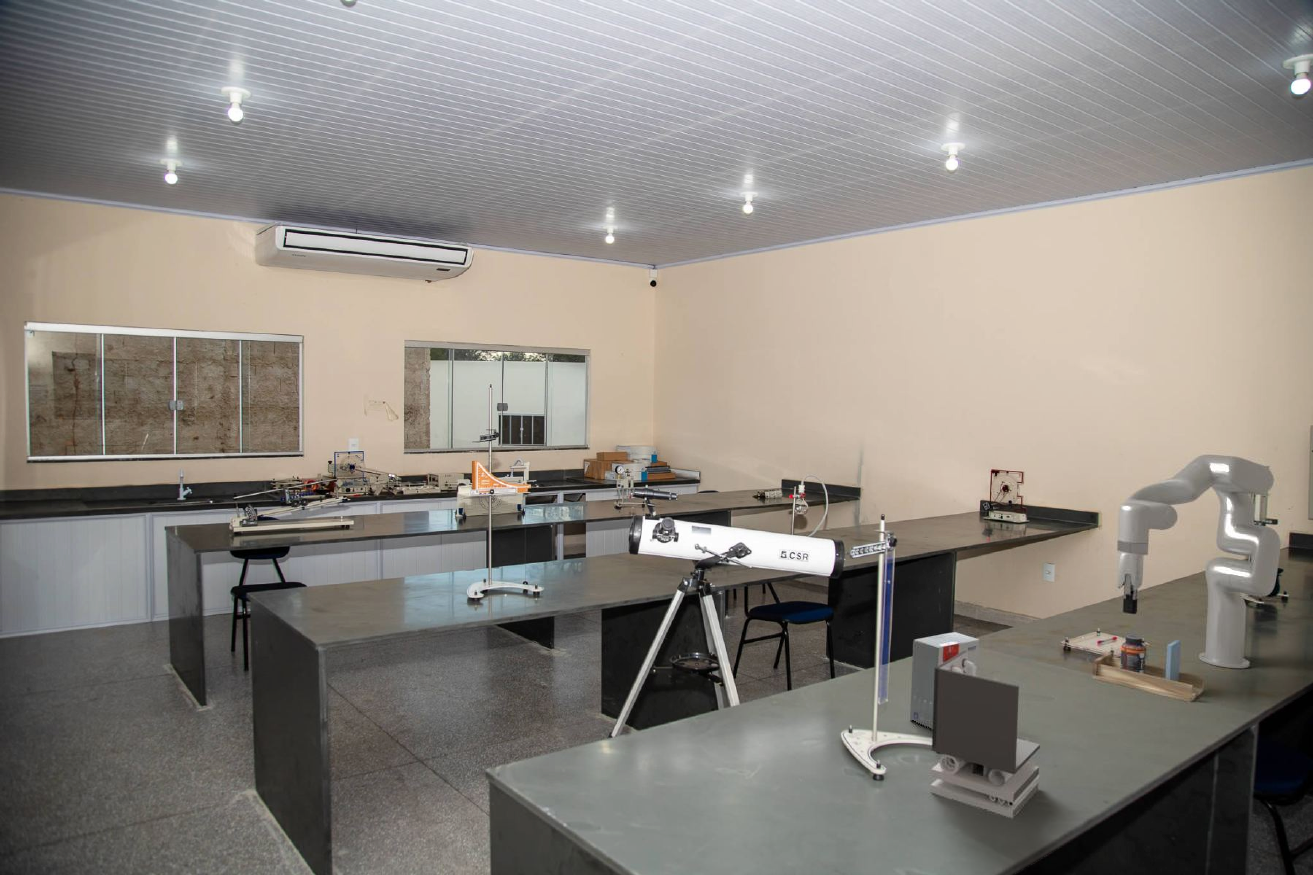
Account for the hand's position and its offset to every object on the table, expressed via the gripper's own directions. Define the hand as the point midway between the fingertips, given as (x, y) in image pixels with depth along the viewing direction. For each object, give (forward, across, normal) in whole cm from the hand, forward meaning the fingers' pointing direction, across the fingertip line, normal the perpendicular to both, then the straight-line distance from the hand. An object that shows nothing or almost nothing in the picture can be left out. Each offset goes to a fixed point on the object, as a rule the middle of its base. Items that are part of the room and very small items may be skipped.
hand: (1129, 612), depth 235 cm
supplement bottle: (+18, 0, +1) cm, 18 cm away
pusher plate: (+18, +2, +11) cm, 21 cm away
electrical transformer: (+19, +95, -8) cm, 97 cm away
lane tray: (+19, +1, +5) cm, 20 cm away
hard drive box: (+19, +64, -29) cm, 73 cm away
